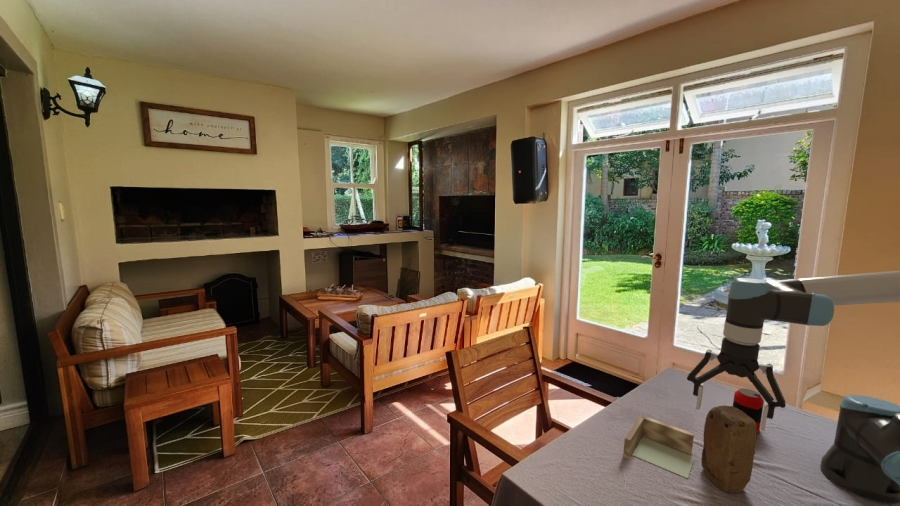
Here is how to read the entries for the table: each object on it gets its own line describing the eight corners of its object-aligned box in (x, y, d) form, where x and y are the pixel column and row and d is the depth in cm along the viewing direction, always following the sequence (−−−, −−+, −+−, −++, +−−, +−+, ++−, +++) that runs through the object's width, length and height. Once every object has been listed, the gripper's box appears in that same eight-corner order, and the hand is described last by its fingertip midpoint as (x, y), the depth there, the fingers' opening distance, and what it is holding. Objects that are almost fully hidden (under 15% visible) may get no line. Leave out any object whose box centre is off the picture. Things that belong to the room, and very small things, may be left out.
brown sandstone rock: (752, 495, 97) (763, 423, 94) (723, 496, 97) (733, 424, 94) (720, 465, 108) (729, 399, 105) (694, 466, 107) (702, 400, 104)
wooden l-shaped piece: (691, 452, 113) (694, 433, 112) (681, 482, 101) (684, 461, 100) (638, 431, 123) (639, 414, 122) (623, 456, 111) (624, 438, 110)
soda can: (755, 436, 121) (761, 401, 119) (727, 425, 126) (731, 391, 125) (762, 427, 125) (767, 393, 123) (734, 417, 131) (739, 384, 129)
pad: (694, 457, 111) (694, 456, 111) (687, 478, 103) (687, 478, 103) (642, 437, 120) (642, 436, 120) (631, 455, 112) (632, 454, 111)
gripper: (807, 349, 91) (792, 430, 94) (686, 324, 107) (677, 394, 110) (809, 359, 85) (793, 445, 89) (681, 331, 101) (671, 405, 105)
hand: (729, 417), depth 99 cm, fingers open, 13 cm apart
